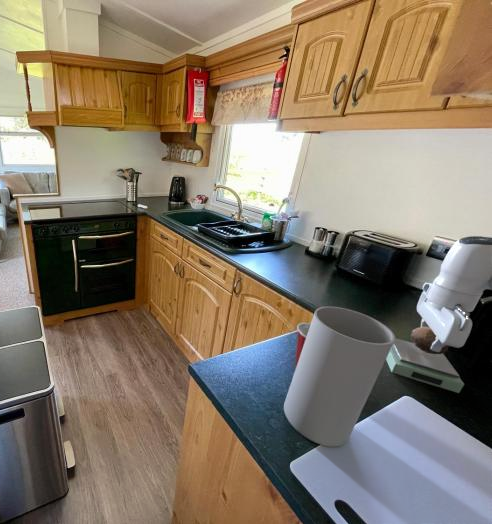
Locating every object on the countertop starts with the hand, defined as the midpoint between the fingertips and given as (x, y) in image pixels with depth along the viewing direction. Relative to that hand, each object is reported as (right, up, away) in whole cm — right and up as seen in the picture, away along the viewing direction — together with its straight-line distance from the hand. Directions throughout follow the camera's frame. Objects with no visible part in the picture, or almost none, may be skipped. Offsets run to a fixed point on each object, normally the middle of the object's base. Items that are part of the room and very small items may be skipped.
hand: (428, 341), depth 79 cm
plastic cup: (-34, -7, -1) cm, 35 cm away
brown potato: (0, -2, +1) cm, 2 cm away
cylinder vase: (-42, -13, -17) cm, 47 cm away
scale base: (-1, -8, +3) cm, 9 cm away
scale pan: (0, -5, +2) cm, 6 cm away
